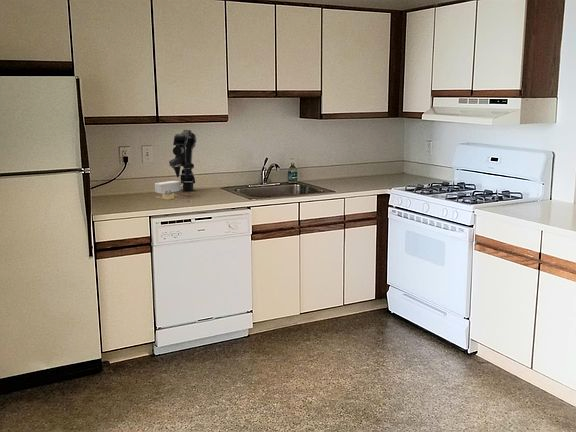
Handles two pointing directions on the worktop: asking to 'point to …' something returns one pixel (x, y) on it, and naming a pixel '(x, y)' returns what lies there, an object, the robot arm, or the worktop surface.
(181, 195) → the copper plate
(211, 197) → the worktop surface
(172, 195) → the brass ring
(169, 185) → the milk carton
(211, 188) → the worktop surface
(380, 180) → the worktop surface
